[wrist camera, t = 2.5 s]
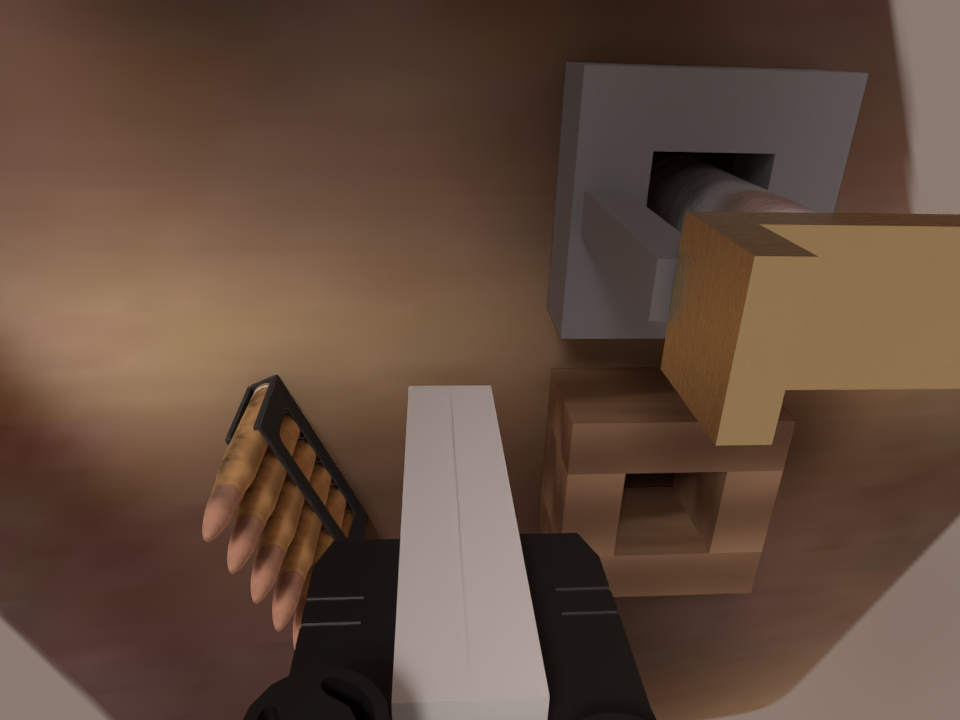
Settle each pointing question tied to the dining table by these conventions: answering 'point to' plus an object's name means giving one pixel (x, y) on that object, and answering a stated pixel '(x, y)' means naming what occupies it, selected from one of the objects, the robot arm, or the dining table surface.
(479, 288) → the dining table surface
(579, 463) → the frame
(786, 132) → the socket block
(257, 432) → the ammunition clip
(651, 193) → the peg
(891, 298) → the latch
